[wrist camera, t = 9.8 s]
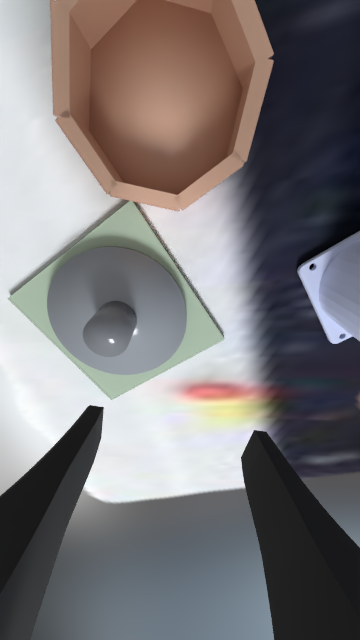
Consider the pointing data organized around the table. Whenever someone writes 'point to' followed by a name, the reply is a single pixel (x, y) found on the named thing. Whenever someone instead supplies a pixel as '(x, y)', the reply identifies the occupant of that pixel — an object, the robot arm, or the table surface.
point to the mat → (138, 235)
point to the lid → (117, 310)
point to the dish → (159, 92)
